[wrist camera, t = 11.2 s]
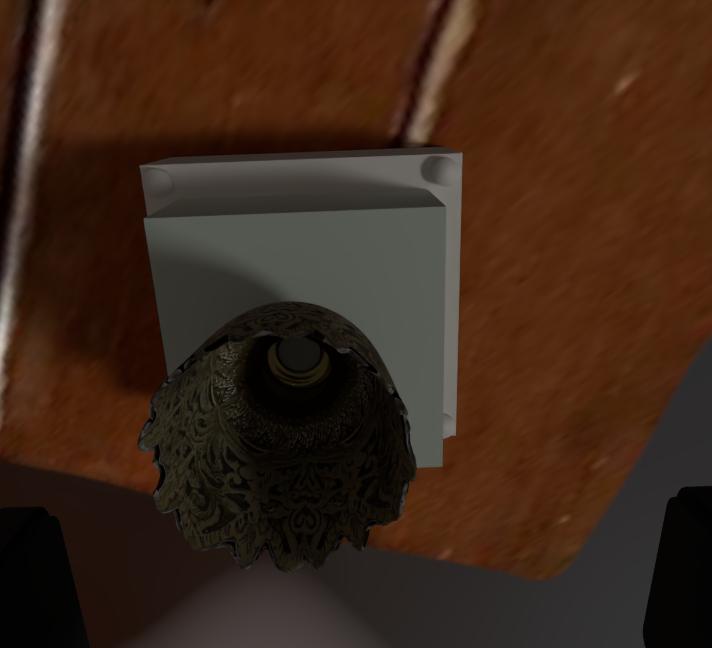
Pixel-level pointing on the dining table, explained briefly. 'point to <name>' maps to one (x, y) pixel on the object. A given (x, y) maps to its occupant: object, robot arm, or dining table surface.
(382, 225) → the grey stacking block
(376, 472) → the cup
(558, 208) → the dining table surface
